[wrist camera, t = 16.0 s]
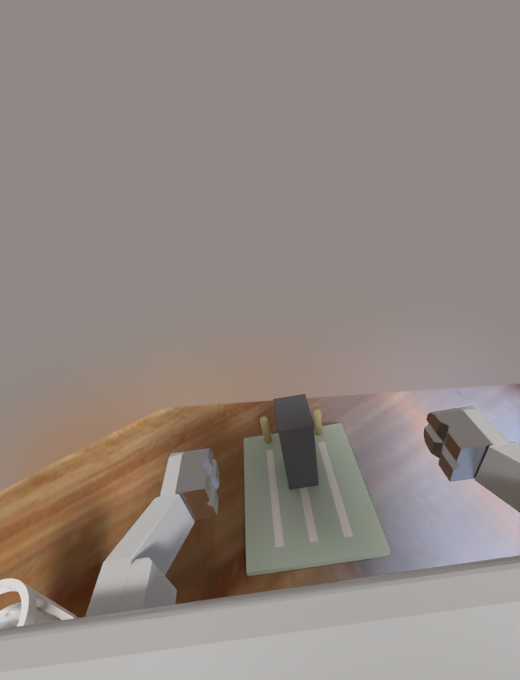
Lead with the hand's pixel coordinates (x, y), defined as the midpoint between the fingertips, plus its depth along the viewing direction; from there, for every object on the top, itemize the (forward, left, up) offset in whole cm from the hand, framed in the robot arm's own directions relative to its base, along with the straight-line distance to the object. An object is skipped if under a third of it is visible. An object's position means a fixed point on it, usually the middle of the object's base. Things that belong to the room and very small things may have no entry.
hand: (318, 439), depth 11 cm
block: (0, -17, -29) cm, 34 cm away
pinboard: (0, -15, -30) cm, 33 cm away
